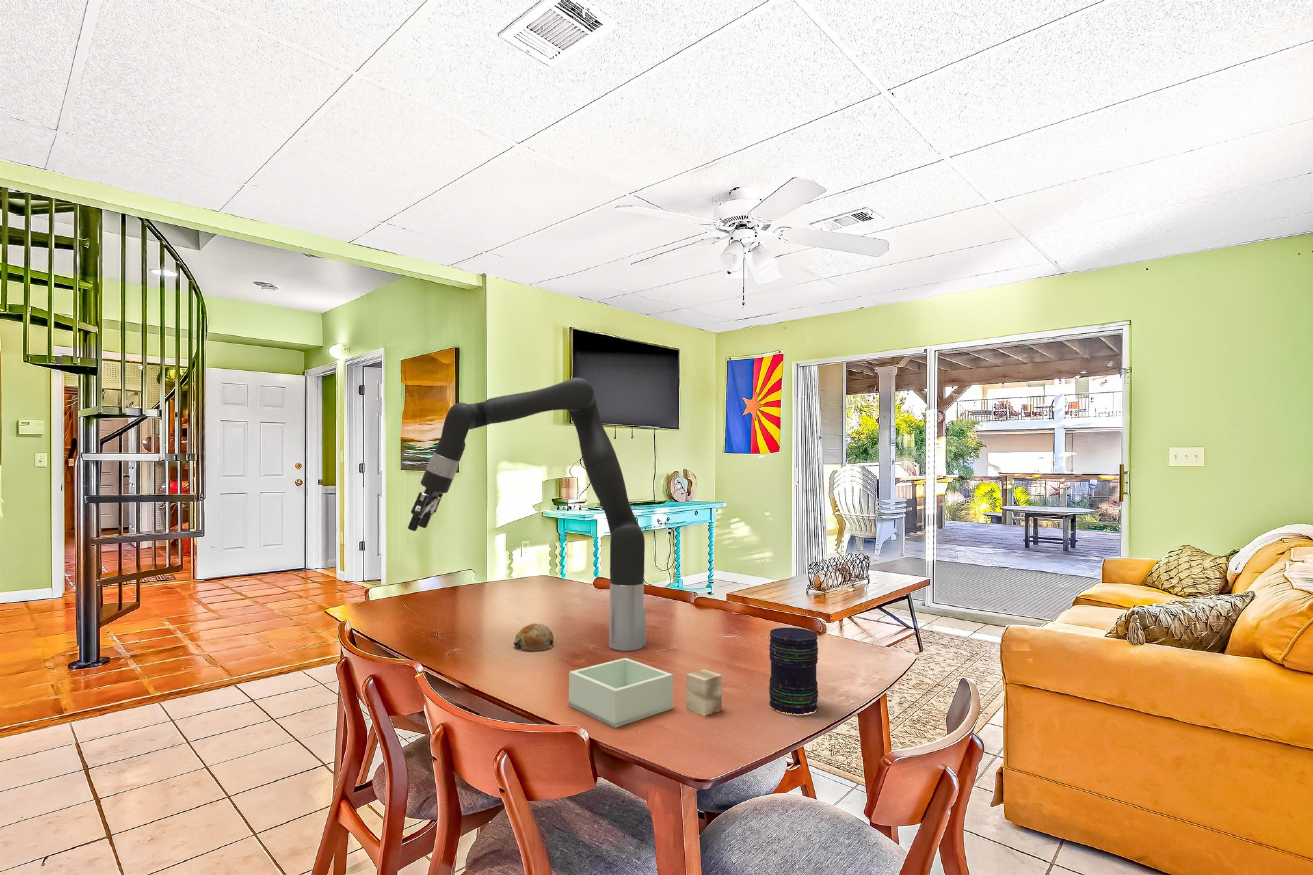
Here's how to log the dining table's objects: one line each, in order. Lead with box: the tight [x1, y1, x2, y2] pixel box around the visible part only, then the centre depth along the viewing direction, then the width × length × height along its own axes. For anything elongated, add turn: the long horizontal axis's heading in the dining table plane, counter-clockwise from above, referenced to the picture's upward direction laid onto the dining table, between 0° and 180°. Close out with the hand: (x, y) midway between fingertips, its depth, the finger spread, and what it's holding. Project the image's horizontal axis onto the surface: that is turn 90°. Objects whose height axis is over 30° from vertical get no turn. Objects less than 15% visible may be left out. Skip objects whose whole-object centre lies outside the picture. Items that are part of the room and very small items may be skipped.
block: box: [686, 669, 723, 717], centre depth 131 cm, size 5×5×7 cm
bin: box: [568, 657, 674, 729], centre depth 132 cm, size 15×15×7 cm
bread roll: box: [513, 623, 555, 652], centre depth 175 cm, size 10×10×8 cm
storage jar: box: [768, 627, 819, 714], centre depth 133 cm, size 10×10×15 cm
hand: (416, 528), depth 174 cm, fingers open, 8 cm apart
